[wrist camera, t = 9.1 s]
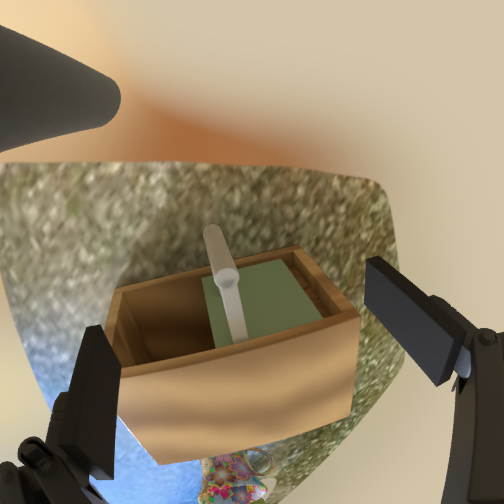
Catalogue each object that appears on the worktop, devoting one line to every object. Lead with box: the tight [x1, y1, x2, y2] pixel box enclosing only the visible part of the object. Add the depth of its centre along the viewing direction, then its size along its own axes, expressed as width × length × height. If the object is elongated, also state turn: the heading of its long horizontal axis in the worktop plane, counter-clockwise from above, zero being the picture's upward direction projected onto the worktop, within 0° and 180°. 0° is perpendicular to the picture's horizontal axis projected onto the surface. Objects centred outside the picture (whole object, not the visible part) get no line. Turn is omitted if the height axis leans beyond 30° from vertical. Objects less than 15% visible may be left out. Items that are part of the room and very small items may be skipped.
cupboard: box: [104, 245, 361, 465], centre depth 26 cm, size 12×18×12 cm
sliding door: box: [201, 224, 323, 348], centre depth 23 cm, size 6×7×10 cm
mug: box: [198, 448, 275, 504], centre depth 36 cm, size 12×9×11 cm
